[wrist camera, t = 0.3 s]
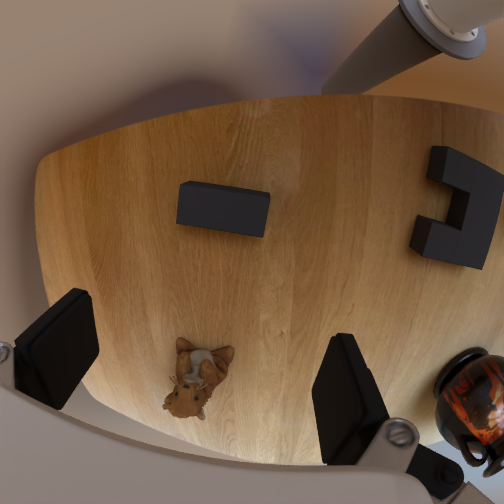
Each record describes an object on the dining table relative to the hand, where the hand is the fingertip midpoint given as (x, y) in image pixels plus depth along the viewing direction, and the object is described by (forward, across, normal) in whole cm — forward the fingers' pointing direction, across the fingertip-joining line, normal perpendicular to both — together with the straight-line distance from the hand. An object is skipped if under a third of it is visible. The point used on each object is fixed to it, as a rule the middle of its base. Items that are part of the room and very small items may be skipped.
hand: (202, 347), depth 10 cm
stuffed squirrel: (+31, +4, +29) cm, 43 cm away
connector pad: (+30, +3, 0) cm, 30 cm away
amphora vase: (+30, -54, +28) cm, 68 cm away
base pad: (+30, -32, -6) cm, 44 cm away
